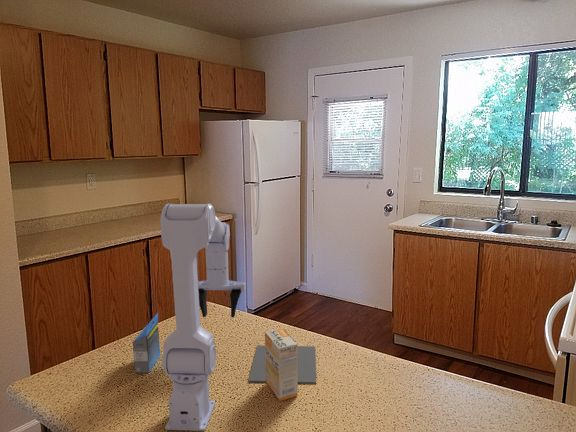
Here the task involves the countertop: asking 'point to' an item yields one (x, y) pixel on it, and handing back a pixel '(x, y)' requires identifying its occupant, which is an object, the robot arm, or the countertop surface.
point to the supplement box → (281, 363)
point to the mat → (304, 365)
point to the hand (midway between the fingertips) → (219, 315)
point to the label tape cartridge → (147, 347)
